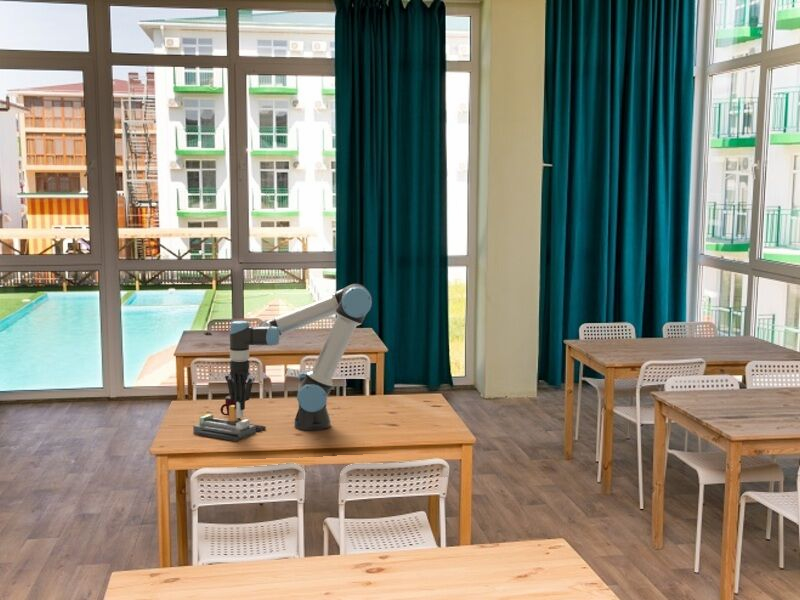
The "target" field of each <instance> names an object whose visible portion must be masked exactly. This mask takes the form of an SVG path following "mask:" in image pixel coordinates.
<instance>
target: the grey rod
mask: <svg viewBox="0 0 800 600" xmlns="http://www.w3.org/2000/svg"><path fill="white" fill-rule="evenodd" d="M262 431H263V430H262V428H261V427H257V426H256V432H262Z"/></svg>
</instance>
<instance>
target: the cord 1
mask: <svg viewBox="0 0 800 600" xmlns="http://www.w3.org/2000/svg"><path fill="white" fill-rule="evenodd" d="M197 435H199V436H202V437H208V438H214V439H219V440H225V441H232V442H238V441H239V440H238V437H235V436H229V435H223V434H217V433H211V432H206V431H198V434H197Z"/></svg>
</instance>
